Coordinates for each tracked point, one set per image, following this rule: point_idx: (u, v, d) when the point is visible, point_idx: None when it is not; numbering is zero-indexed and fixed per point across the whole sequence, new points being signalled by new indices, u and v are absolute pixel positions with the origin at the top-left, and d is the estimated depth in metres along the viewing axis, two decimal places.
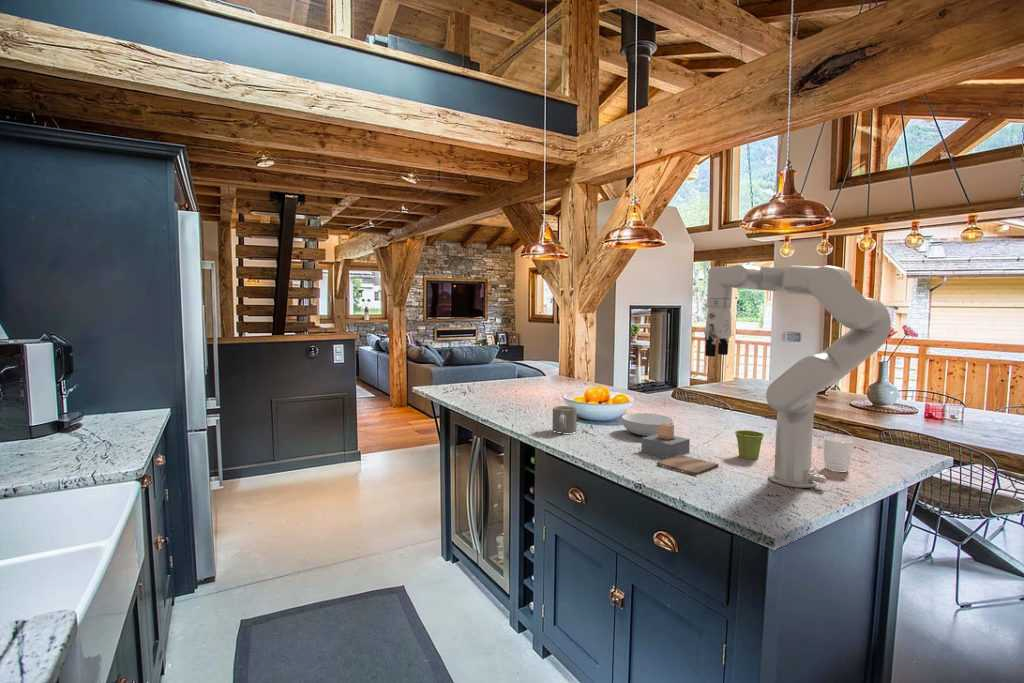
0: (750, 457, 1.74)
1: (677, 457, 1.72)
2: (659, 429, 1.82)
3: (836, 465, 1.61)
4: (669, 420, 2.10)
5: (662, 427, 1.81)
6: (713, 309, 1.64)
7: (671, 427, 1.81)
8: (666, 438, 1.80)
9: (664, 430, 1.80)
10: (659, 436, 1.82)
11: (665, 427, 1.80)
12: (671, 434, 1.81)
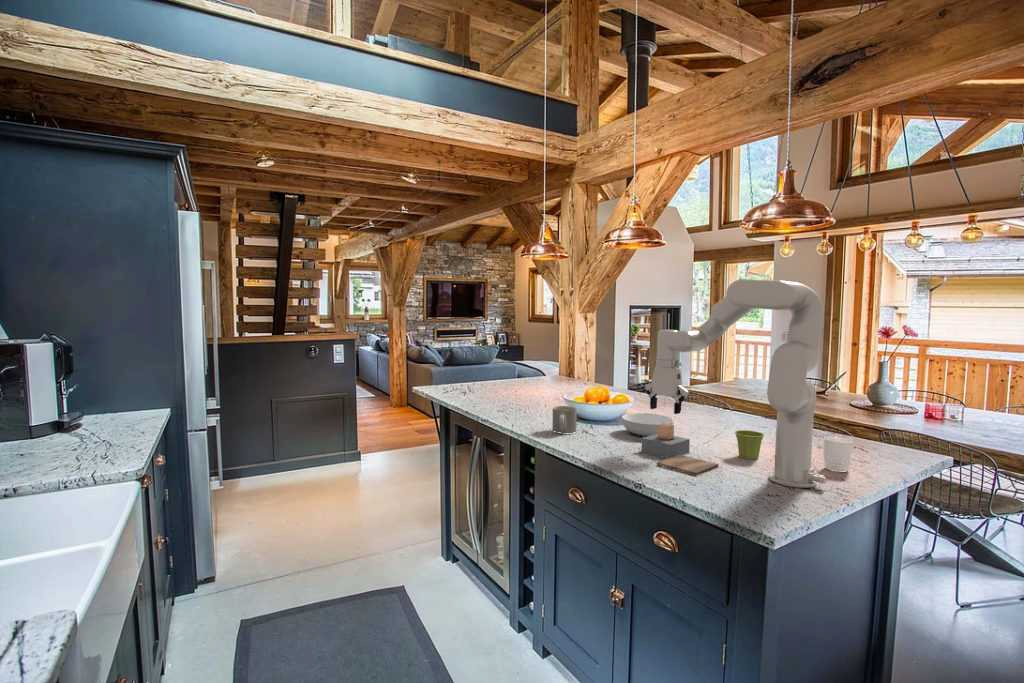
0: (750, 457, 1.74)
1: (677, 457, 1.72)
2: (659, 429, 1.82)
3: (836, 465, 1.61)
4: (669, 420, 2.10)
5: (662, 427, 1.81)
6: (678, 370, 1.78)
7: (671, 427, 1.81)
8: (666, 438, 1.80)
9: (664, 430, 1.80)
10: (659, 436, 1.82)
11: (665, 427, 1.80)
12: (671, 434, 1.81)
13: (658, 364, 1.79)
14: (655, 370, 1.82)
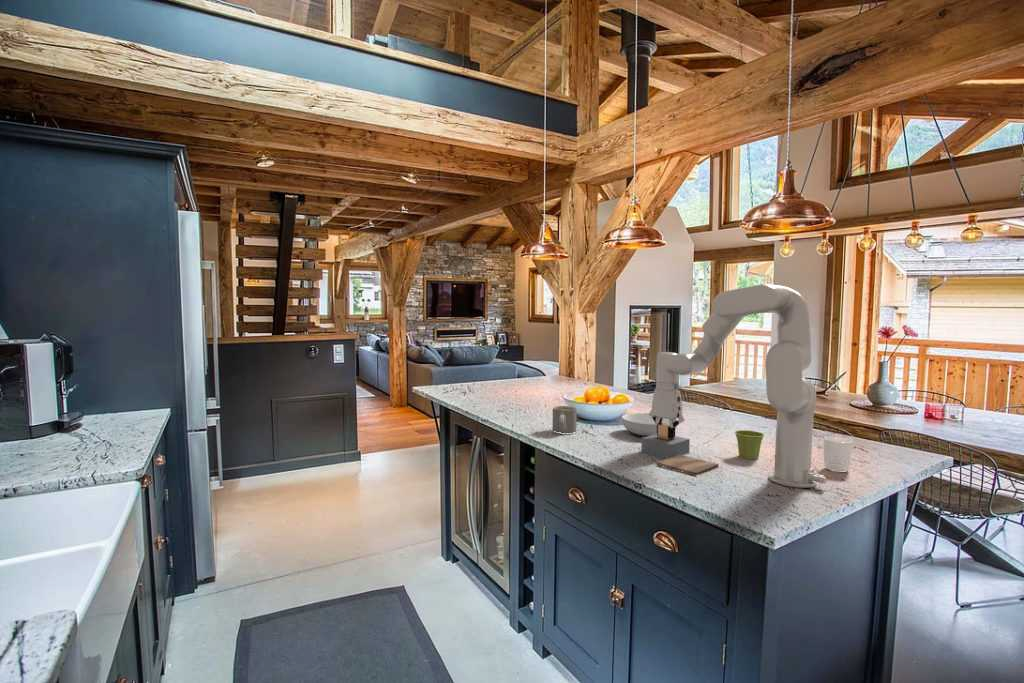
0: (750, 457, 1.74)
1: (677, 457, 1.72)
2: (659, 429, 1.82)
3: (836, 465, 1.61)
4: None
5: (662, 427, 1.81)
6: (678, 393, 1.78)
7: None
8: (666, 438, 1.80)
9: (664, 430, 1.80)
10: (659, 436, 1.82)
11: (665, 427, 1.80)
12: None
13: (658, 387, 1.80)
14: (655, 393, 1.82)
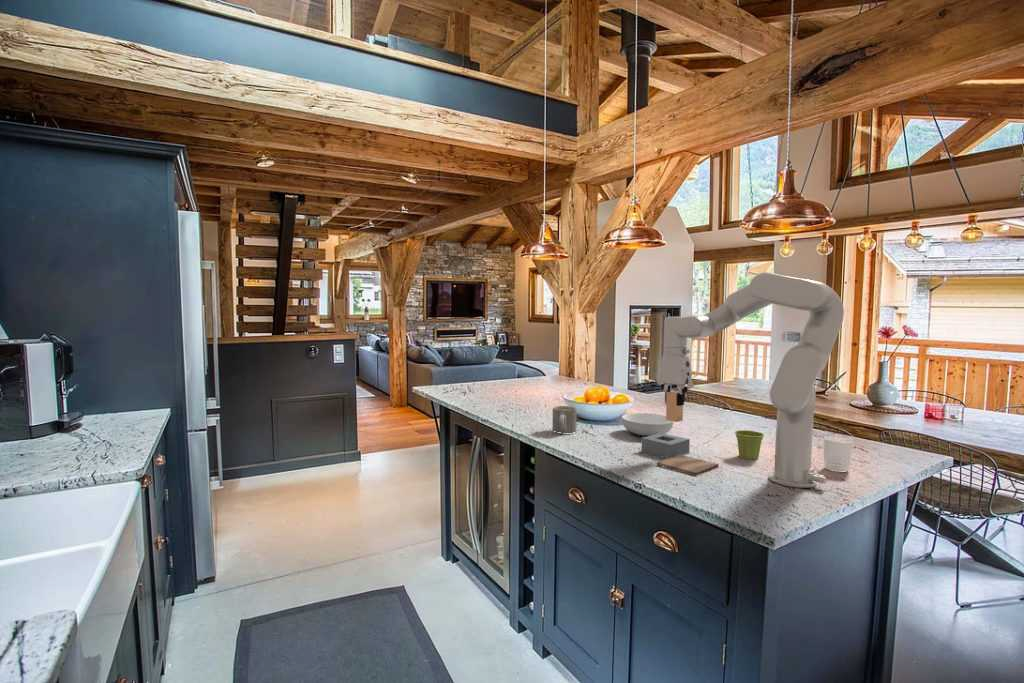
0: (750, 457, 1.74)
1: (677, 457, 1.72)
2: (668, 396, 1.75)
3: (836, 465, 1.61)
4: None
5: (671, 394, 1.74)
6: (687, 357, 1.72)
7: None
8: (675, 405, 1.73)
9: (673, 397, 1.74)
10: (668, 403, 1.75)
11: (674, 394, 1.73)
12: None
13: (666, 352, 1.74)
14: (663, 359, 1.76)
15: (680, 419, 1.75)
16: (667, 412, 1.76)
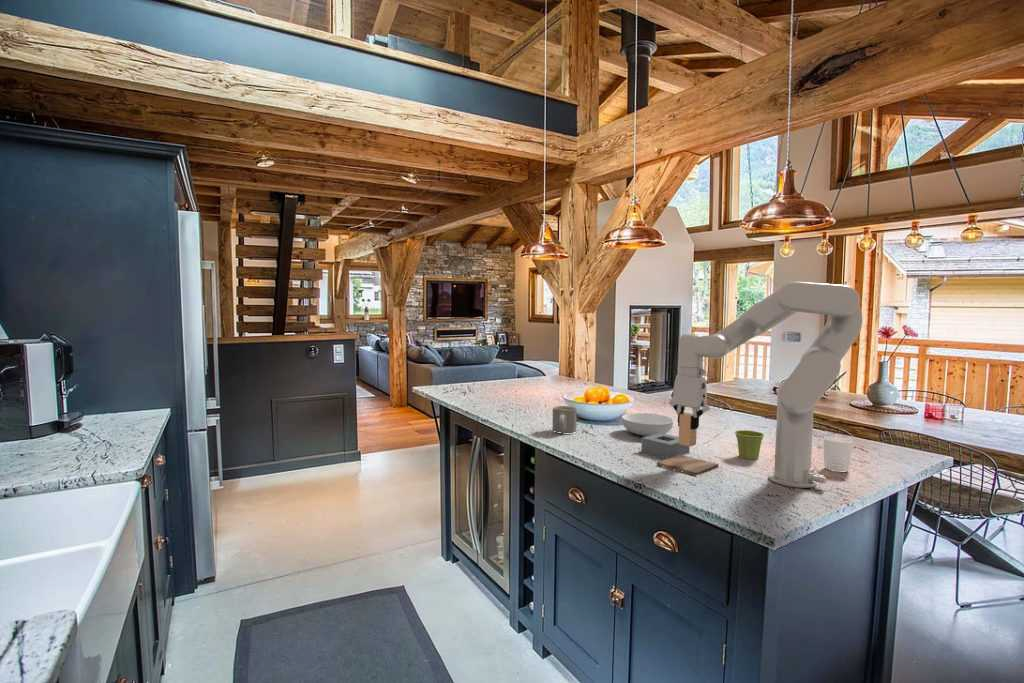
0: (750, 457, 1.74)
1: (677, 457, 1.72)
2: (681, 419, 1.65)
3: (836, 465, 1.61)
4: (669, 420, 2.10)
5: (684, 416, 1.64)
6: (703, 379, 1.61)
7: None
8: (689, 429, 1.63)
9: (686, 420, 1.63)
10: (681, 426, 1.65)
11: (688, 416, 1.63)
12: None
13: (680, 372, 1.63)
14: (677, 379, 1.65)
15: (693, 443, 1.65)
16: (680, 436, 1.65)
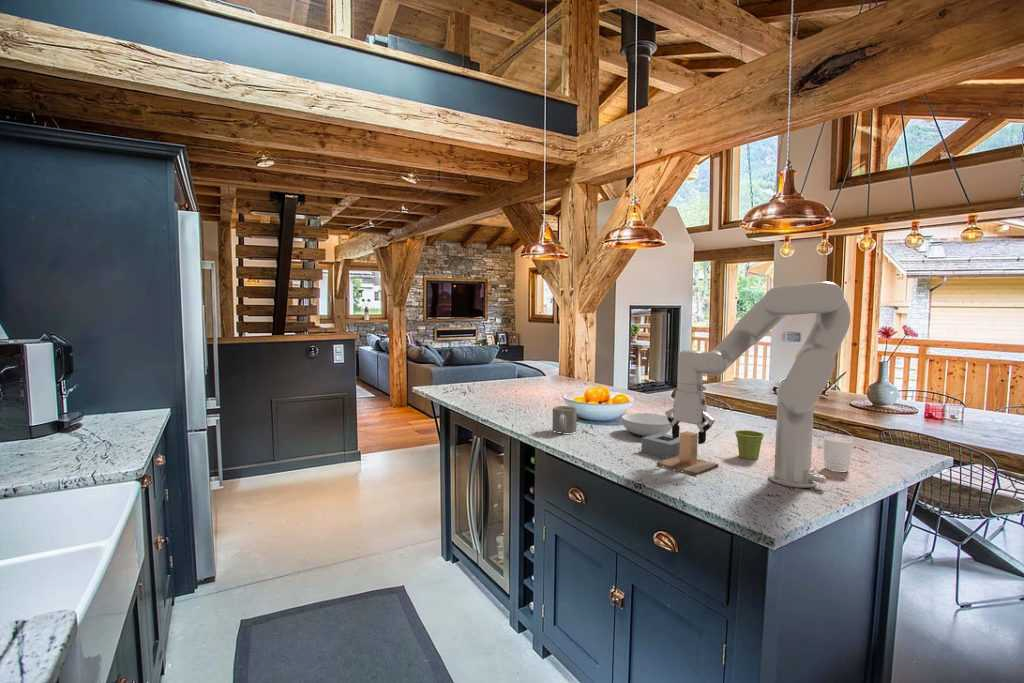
0: (750, 457, 1.74)
1: (677, 457, 1.72)
2: (681, 438, 1.65)
3: (836, 465, 1.61)
4: None
5: (685, 436, 1.64)
6: (703, 395, 1.61)
7: (695, 436, 1.64)
8: (689, 448, 1.63)
9: (687, 439, 1.64)
10: (681, 446, 1.65)
11: (688, 436, 1.63)
12: (694, 443, 1.64)
13: (680, 389, 1.63)
14: (676, 395, 1.66)
15: (694, 462, 1.65)
16: (681, 455, 1.66)
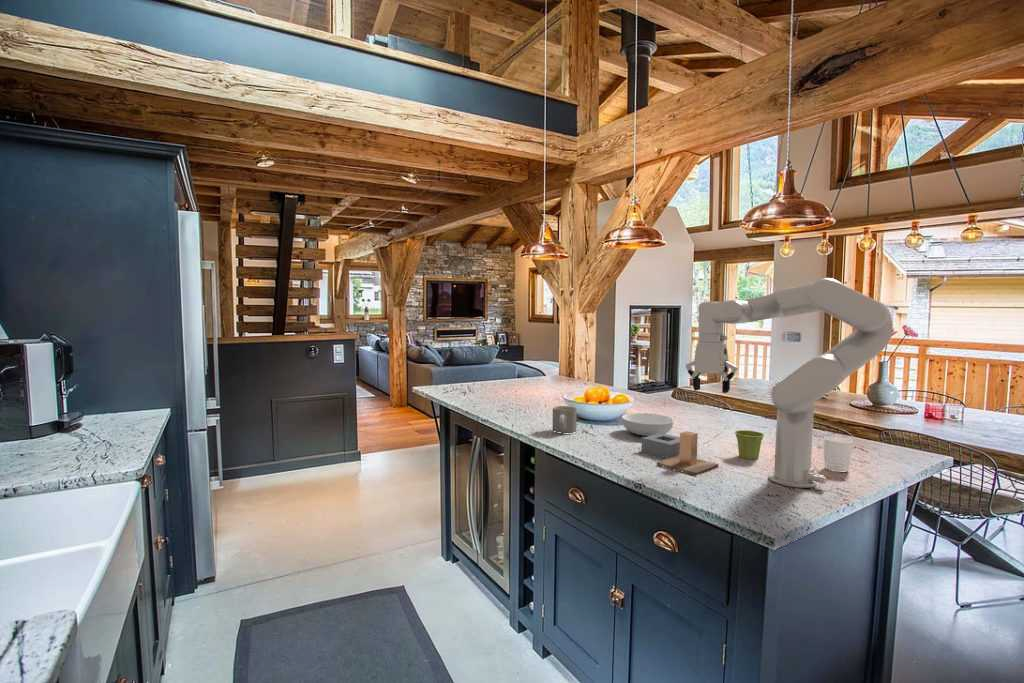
0: (750, 457, 1.74)
1: (677, 457, 1.72)
2: (681, 438, 1.65)
3: (836, 465, 1.61)
4: (669, 420, 2.10)
5: (685, 436, 1.64)
6: (724, 345, 1.62)
7: (695, 436, 1.64)
8: (689, 448, 1.63)
9: (687, 439, 1.64)
10: (681, 446, 1.65)
11: (688, 436, 1.63)
12: (694, 443, 1.64)
13: (701, 340, 1.64)
14: (697, 347, 1.66)
15: (694, 462, 1.65)
16: (681, 455, 1.66)
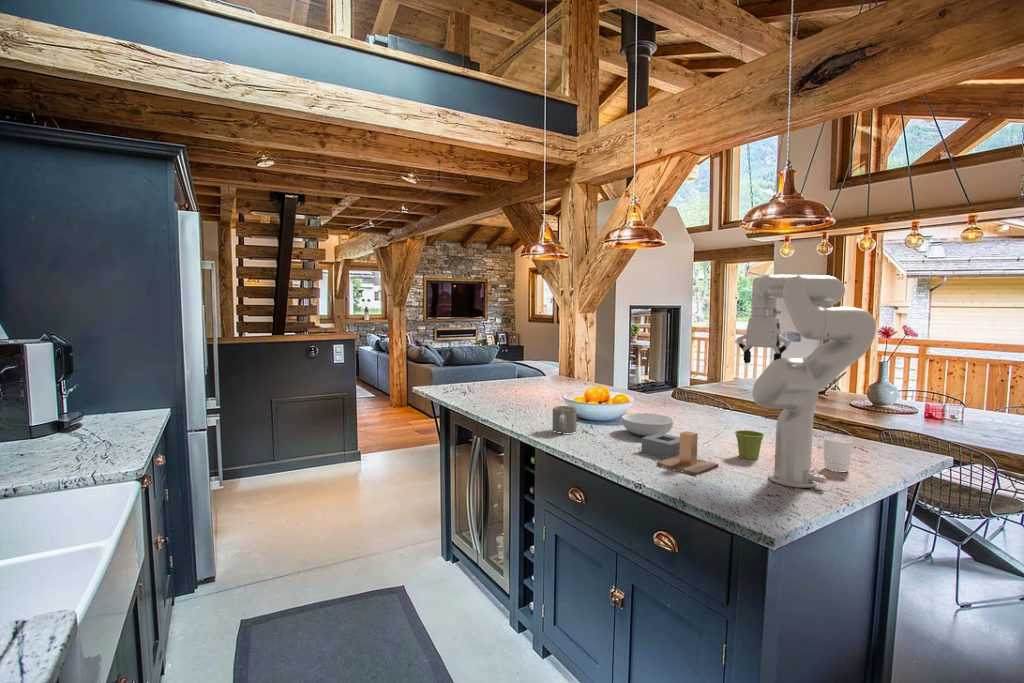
0: (750, 457, 1.74)
1: (677, 457, 1.72)
2: (681, 438, 1.65)
3: (836, 465, 1.61)
4: (669, 420, 2.10)
5: (685, 436, 1.64)
6: (777, 319, 1.67)
7: (695, 436, 1.64)
8: (689, 448, 1.63)
9: (687, 439, 1.64)
10: (681, 446, 1.65)
11: (688, 436, 1.63)
12: (694, 443, 1.64)
13: (754, 313, 1.69)
14: (750, 321, 1.72)
15: (694, 462, 1.65)
16: (681, 455, 1.66)
